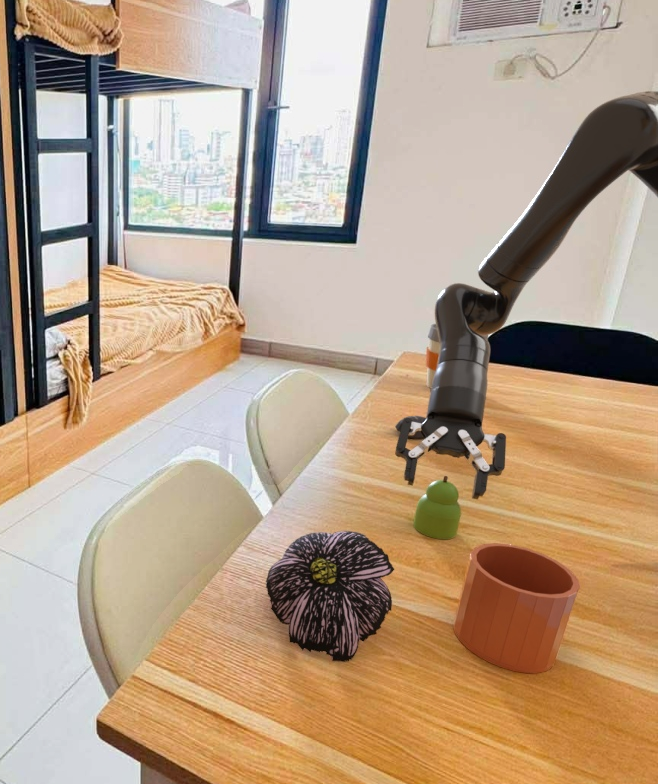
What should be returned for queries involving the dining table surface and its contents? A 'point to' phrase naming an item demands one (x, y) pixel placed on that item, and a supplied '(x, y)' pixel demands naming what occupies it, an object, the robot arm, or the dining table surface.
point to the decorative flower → (331, 591)
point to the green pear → (438, 511)
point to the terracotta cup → (515, 607)
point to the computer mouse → (414, 419)
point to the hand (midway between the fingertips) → (442, 490)
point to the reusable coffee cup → (434, 353)
